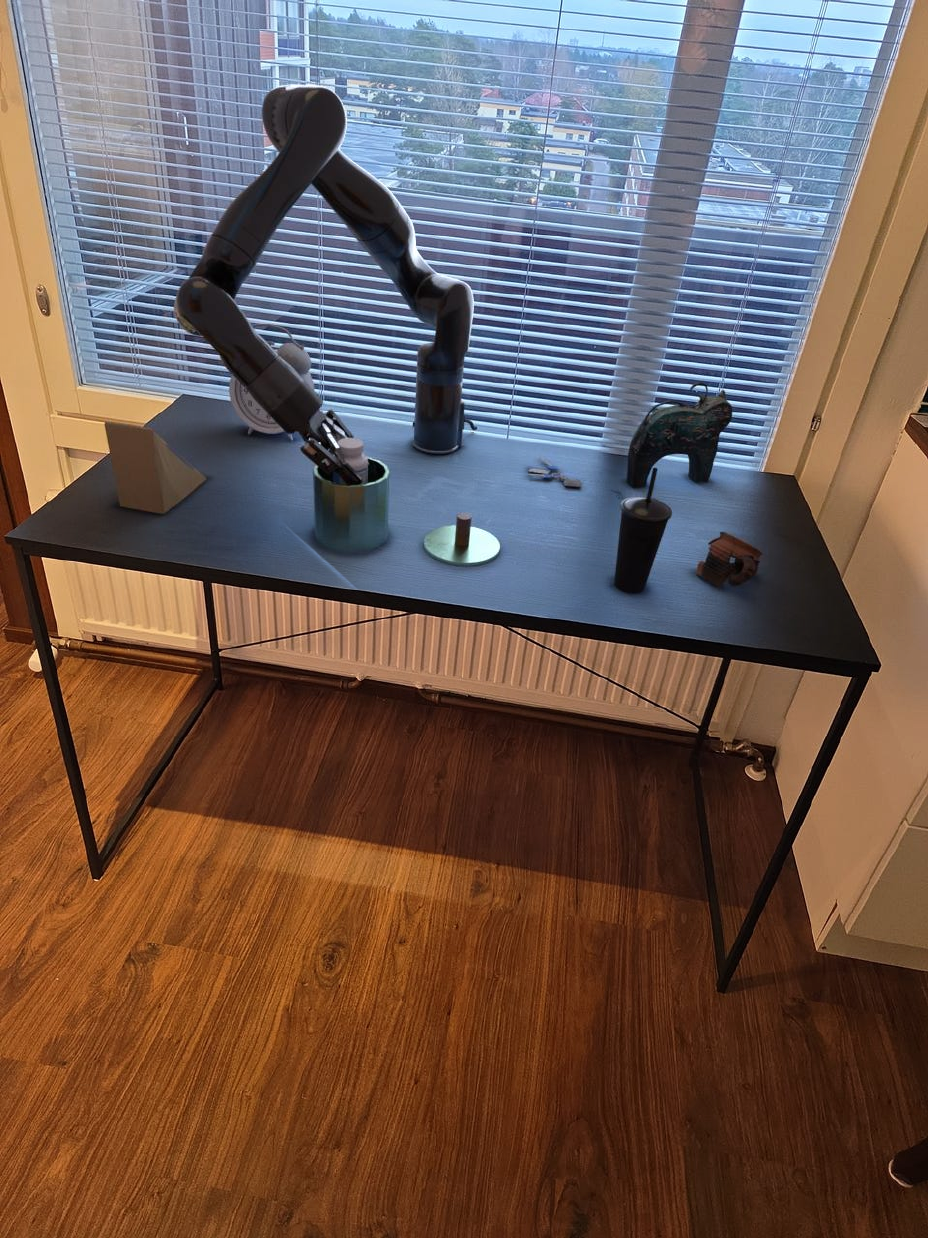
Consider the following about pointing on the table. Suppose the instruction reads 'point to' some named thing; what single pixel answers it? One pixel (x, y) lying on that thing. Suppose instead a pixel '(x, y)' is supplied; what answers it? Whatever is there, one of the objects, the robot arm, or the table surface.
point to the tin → (352, 510)
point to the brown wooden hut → (719, 561)
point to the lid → (461, 543)
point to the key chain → (566, 481)
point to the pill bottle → (353, 459)
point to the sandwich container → (148, 469)
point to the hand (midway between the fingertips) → (361, 476)
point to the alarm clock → (246, 403)
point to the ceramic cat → (679, 436)
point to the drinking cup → (639, 539)
